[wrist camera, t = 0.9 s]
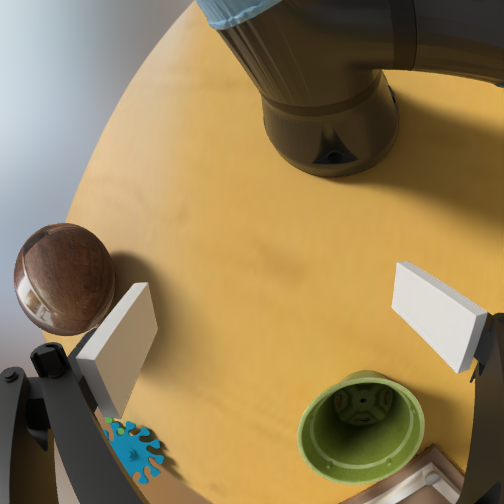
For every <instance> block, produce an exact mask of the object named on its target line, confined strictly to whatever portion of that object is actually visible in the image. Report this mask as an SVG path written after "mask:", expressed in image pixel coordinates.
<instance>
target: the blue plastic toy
mask: <svg viewBox="0 0 504 504" xmlns="http://www.w3.org/2000/svg"><path fill="white" fill-rule="evenodd" d="M106 422H107V423H109V424H110V425H111V428H112V429H113V432H114V440H113V441H110V440H109V433H108V432H107V431H106V430H103V431H104V433H105V435H106V437H107V438H108V440H109V442H110V444H111V446H112V447H113V449H114V451H115V452H116V454H117V456H118V457H119V459H120V461H121V462H122V464H123V466H124V467H125V469H126V470H127V472H128V473H129V475H130V476H131V478H132V476H133V474H134V473H135V472H136V471H138V472H140V474H141V477H140V478H139V480H138V481H139V483H140V484H148V482H149V481H148V479H147V478H146V476H145V474H144V467H145V466H148V467H150V469H151V475H152V476H153V477H155V476H157V475H158V474H160V471H159V470H158V469H156V468H154V467H153V466H152V465H151V463H150V462H149V457H150V456H152V457H154V458H155V460H156V462H157V463H160V464H161V463H162V462H163V461H164V456H162V455H155V454H152V453H151V452H149V451H148V450H147V446H149V445H151V446H152V447H154V448H160V442H159V440H154V441H152V442H149V443H145V442H141V441H140V436H149V435H150V432H149V430H148V429H147V428H146V427H143V428H142V429H141V431H140V432H139V433H138V434H137V435H135V436H130V435H129V431H130V430H133V429H135V427H136V425H135V424H134V423H132V422H129V421H127V422H126V430H125V428H124V426H123V424H122V423H121V422H118V421H115V422H114V419H113V418H109V417H106Z"/></svg>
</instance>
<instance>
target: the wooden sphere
mask: <svg viewBox="0 0 504 504" xmlns="http://www.w3.org/2000/svg"><path fill="white" fill-rule="evenodd" d="M14 286H15V292H16V296H17V298H18V301H19V304H20V306H21V308H22V309H23V311H24V313H25V314H26V315H27V317H28V318H29V319H30V320H31V321H32V322H33V323H34V324H35V325H37V326H38V327H39V328H41V329H42V330H44V331H46V332H49V333H51V334H55V335H59V336H73V335H78V334H81V333H84V332H86V331H88V330H90V329H91V328H93V327H94V326H96V325H97V324H98V323H99V322H100V321H101V320H102V319H103V317H104V316H105V315H106V313H107V311H108V310H109V308H110V305H111V303H112V300H113V296H114V292H115V271H114V266H113V263H112V260H111V257H110V255H109V253H108V251H107V249H106V248H105V246H104V245H103V243H102V242H101V241H100V240H99V239H98V238H97V237H96V236H95V235H94V234H93V233H91V232H90V231H89V230H87V229H85V228H83V227H81V226H78V225H75V224H70V223H57V224H51V225H48V226H46V227H43V228H41V229H40V230H38V231H37V232H35V233H34V234H33V235H32V236H31V237H30V238H29V239H28V240H27V241H26V242H25V244H24V245H23V247H22V248H21V250H20V252H19V254H18V257H17V260H16V264H15V269H14Z"/></svg>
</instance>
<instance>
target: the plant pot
mask: <svg viewBox="0 0 504 504" xmlns="http://www.w3.org/2000/svg"><path fill="white" fill-rule="evenodd" d="M386 391H387V392H388V393H389V399H388V402H387V404H385V403H384V402H385V392H386ZM339 395H342V399H341V407H340V406H339V404H338V396H339ZM362 398H364V399H366V401H365V402H364V403H362V402H361V399H362ZM366 418H369V420H368V421H363V422H357V421H356V419H366ZM424 430H425V419H424V414H423V410H422V408H421V405H420V403H419V402H418V400H417V398H416V397H415V396H414V395H413V394H412V393H411V392H410V391H409V390H408V389H407V388H406V387H404V386H403V385H401V384H399V383H397V382H395V381H392V380H389V379H387V378H386V377H385V376H383V375H382V374H380V373H377V372H374V371H359V372H356V373H353V374H351V375H349V376H347V377H346V378H345V379H343V380H342V381H341V382H340V383H339V384H336V385H334V386H332V387H330V388H329V389H327V390H325V391H324V392H322V393H321V394H320V395H319V396H318V397H316V398H315V399H314V400H313V401H312V402H311V404H310V405H309V406H308V407H307V409H306V410H305V412H304V413H303V415H302V417H301V420H300V423H299V426H298V431H297V442H298V448H299V451H300V454H301V455H302V458H303V459H304V461H305V463H306V464H307V465H308V466H309V467H310V468H311V469H312V470H313V471H314V472H315V473H316V474H318V475H319V476H321V477H323V478H325V479H328V480H330V481H333V482H336V483H340V484H346V485H362V484H368V483H372V482H377V481H380V480H382V479H385V478H387V477H389V476H391V475H392V474H394V473H396V472H397V471H399V470H400V469H402V468H403V467H404V466H405V465H406V464H407V463H408V462H409V461H410V460H411V459H412V458H413V456H414V455H415V454H416V452H417V450H418V449H419V447H420V445H421V442H422V439H423V436H424Z"/></svg>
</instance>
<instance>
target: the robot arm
mask: <svg viewBox="0 0 504 504" xmlns="http://www.w3.org/2000/svg"><path fill="white" fill-rule="evenodd" d="M196 2H197V3H198V5H199V6H200V8H201V9H202V11H203V13H204V14H205V16H206V17H207V21H208V24H209V25H210V26H211V27H212V28H213V29H216V31H217V32H218V33H219V35H220V36H221V37H222V39H223V40H224V41H225V43H226V44H227V46H228V47H229V48H230V50H231V51H232V52H233V54H234V55H235V57H236V58H237V60H238V61H239V62H240V64H241V65H242V67H243V68H244V70H245V71H246V73H247V74H248V75H249V77H250V78H251V80H252V81H253V83H254V84H255V86H256V87H257V89H258V90H259V92H260V93H261V97H262V106H263V114H264V126H265V130H266V132H267V135H268V137H269V139H270V141H271V142H272V144H273V145H274V147H275V148H276V150H277V151H278V153H279V154H280V155H281V156H282V157H283V158H284V159H285V160H286V161H287V162H288V163H290V164H291V165H293V166H294V167H296V168H298V169H300V170H302V171H304V172H307V173H310V174H314V175H318V176H325V177H340V176H348V175H352V174H356V173H359V172H362V171H364V170H366V169H368V168H370V167H372V166H373V165H375V164H376V163H378V162H379V161H380V160H381V159H383V158H384V157H385V156H386V154H387V153H388V152H389V151H390V149H391V148H392V146H393V144H394V142H395V140H396V136H397V132H398V124H399V109H398V104H397V100H396V97H395V95H394V93H393V91H392V89H391V88H390V86H389V85H388V82H387V79H386V77H385V75H384V73H383V71H382V69H384V70H408V71H420V72H429V73H438V74H445V75H452V76H458V77H464V78H469V79H474V80H479V81H484V82H488V83H492V84H494V85H496V86H498V87H501V88H504V0H196ZM391 308H392V309H394V310H395V311H396V312H397V313H398V314H399V315H400V316H401V317H402V318H403V319H404V320H405V321H406V322H407V323H408V324H409V325H410V326H411V327H412V328H413V329H414V330H415V331H416V332H417V333H418V334H419V335H420V336H421V337H422V338H423V339H424V340H425V341H426V342H427V343H428V344H429V345H430V346H431V347H432V348H433V349H434V350H435V351H436V352H437V353H438V354H439V355H440V356H441V357H442V358H443V359H444V360H445V361H446V362H447V364H448V365H449V366H450V367H451V368H452V369H453V370H454V371H455V372H456V373H457V374H458V373H461V372H463V371H465V370H468V369H469V368H470V365H471V363H472V360H473V357H475V358H476V359H477V360H478V363H477V365H476V368H475V370H474V372H473V375H472V377H471V380H470V383H472V381H473V379H475V405H474V419H473V429H472V438H471V445H470V452H469V458H468V463H467V469H466V473H465V478H464V483H463V487H462V491H461V494H460V496H459V498H458V500H457V502H456V503H455V504H504V313H496V314H494V315H491V314H490V313H488V312H487V311H486V310H484V309H483V308H481V307H480V306H478V305H477V304H476V303H474V302H473V301H471V300H470V299H468V298H466V297H465V296H463V295H462V294H460V293H459V292H457V291H456V290H454V289H453V288H451V287H450V286H448V285H446V284H445V283H443V282H442V281H440V280H438V279H437V278H435V277H434V276H432V275H430V274H429V273H427V272H425V271H424V270H422V269H420V268H419V267H417V266H415V265H414V264H412V263H410V262H409V261H404V262H397V266H396V276H395V285H394V293H393V300H392V307H391ZM157 331H158V327H157V322H156V318H155V313H154V309H153V304H152V299H151V294H150V289H149V284H148V282H146V283H134V284H133V286H132V287H131V288H130V289H129V290H128V292H127V293H126V294H125V295H124V296H123V298H122V299H121V300H120V301H119V303H118V304H117V305H116V306H115V307H114V309H113V310H112V311H111V312H110V314H109V315H108V316H107V317H106V319H105V320H104V321H103V323H102V324H101V325H100V326H99V328H94V329H92V330H91V331H89V332H88V333H86V334H85V335H84V337H83V338H82V339H81V340H80V342H79V343H78V344H77V345H76V347H75V348H74V349H73V351H72V352H71V353H70V354H69V356H68V357H67V356H66V354H65V351H64V349H63V347H62V345H61V344H59V343H56V342H50V343H46V344H43V345H41V346H39V347H37V348H36V349H35V350H34V351H33V352H32V353H31V356H30V358H31V361H32V363H33V365H34V367H35V369H36V371H37V373H38V375H39V377H30V378H27V376H26V374H25V372H24V370H23V369H22V368H20V367H11V368H7V369H5V370H4V371H3V372H2V373H1V374H0V504H59V502H58V494H57V487H56V475H55V461H54V438H55V442H56V445H57V448H58V451H59V454H60V456H61V459H62V462H63V465H64V467H65V470H66V473H67V475H68V477H69V480H70V482H71V485H72V487H73V489H74V492H75V494H76V496H77V498H78V500H79V502H80V504H150V503H149V502H148V500H147V499H146V498H145V497H144V495H143V494H142V492H141V491H140V489H139V488H138V487H137V485H136V484H135V482H134V481H133V479H132V478H131V476H130V475H129V473H128V472H127V470H126V469H125V467H124V466H123V464H122V462H121V461H120V459H119V457H118V456H117V454H116V452H115V451H114V449H113V447H112V446H111V444H110V442H109V440H108V438H107V437H106V435H105V433H104V431H103V429H102V428H101V425H100V423H99V422H98V420H97V418H96V416H95V414H94V412H95V410H96V408H97V406H98V408H99V410H100V411H101V413H102V415H103V416H104V417H109V418H117V419H121V418H122V415H123V413H124V410H125V408H126V405H127V403H128V400H129V398H130V395H131V393H132V390H133V388H134V385H135V383H136V380H137V378H138V375H139V373H140V371H141V368H142V366H143V364H144V361H145V359H146V357H147V354H148V352H149V350H150V347H151V345H152V343H153V340H154V338H155V336H156V334H157Z"/></svg>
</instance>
